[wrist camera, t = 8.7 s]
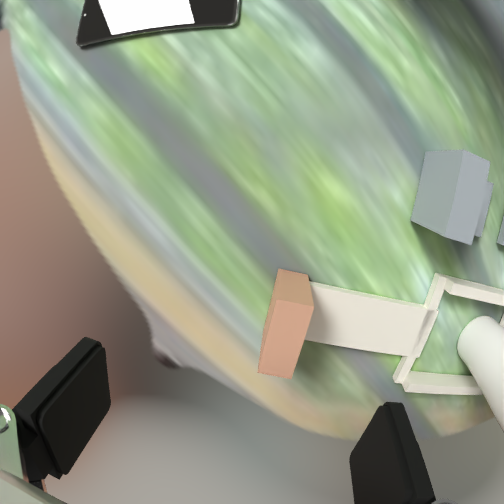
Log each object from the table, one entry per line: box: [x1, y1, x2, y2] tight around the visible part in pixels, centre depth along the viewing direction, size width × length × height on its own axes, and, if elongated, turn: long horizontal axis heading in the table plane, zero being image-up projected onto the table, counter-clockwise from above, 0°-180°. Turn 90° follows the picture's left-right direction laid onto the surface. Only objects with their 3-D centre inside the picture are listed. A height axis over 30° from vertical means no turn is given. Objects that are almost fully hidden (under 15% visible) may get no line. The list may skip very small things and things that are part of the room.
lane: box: [257, 269, 504, 395], centre depth 24 cm, size 11×26×6 cm, turn 79°
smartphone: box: [76, 0, 240, 47], centre depth 22 cm, size 7×1×16 cm
